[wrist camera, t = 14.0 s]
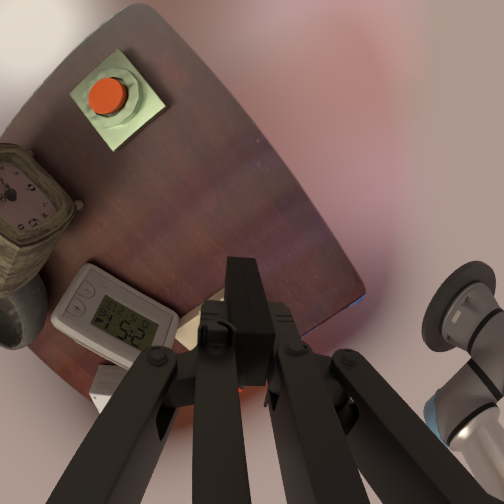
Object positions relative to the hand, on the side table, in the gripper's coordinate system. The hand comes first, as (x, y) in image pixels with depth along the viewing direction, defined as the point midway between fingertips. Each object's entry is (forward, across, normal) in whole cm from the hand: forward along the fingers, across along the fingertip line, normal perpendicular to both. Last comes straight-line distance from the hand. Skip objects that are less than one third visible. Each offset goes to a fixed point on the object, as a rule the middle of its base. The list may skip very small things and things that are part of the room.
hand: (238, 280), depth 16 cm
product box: (+22, -17, -32) cm, 43 cm away
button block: (+21, -14, +12) cm, 28 cm away
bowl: (+21, -32, -14) cm, 41 cm away
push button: (+17, -14, +12) cm, 25 cm away
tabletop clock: (+21, -25, 0) cm, 33 cm away
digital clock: (+21, -13, -15) cm, 30 cm away
